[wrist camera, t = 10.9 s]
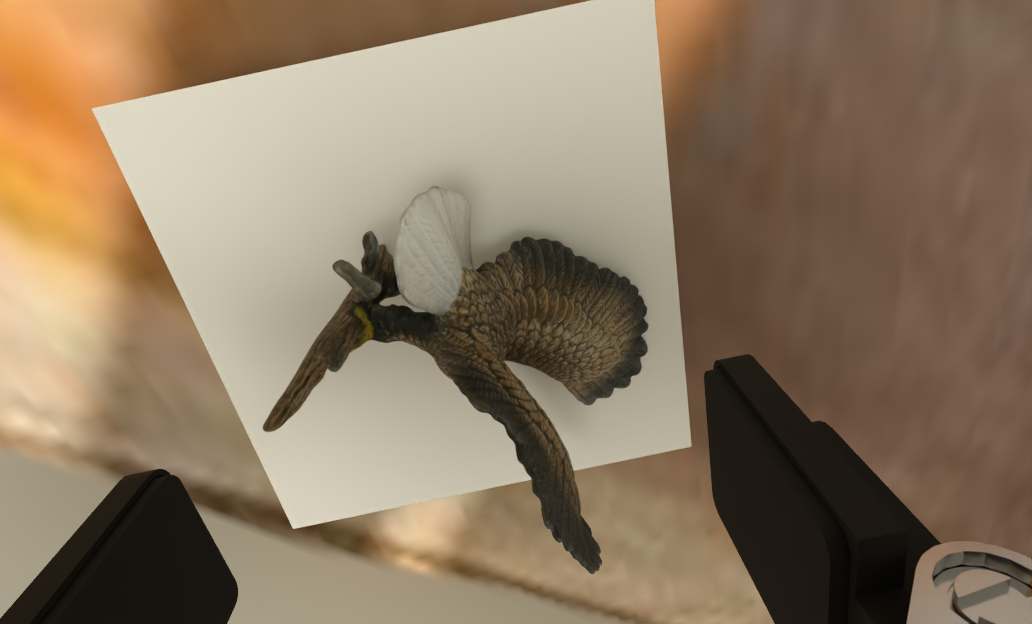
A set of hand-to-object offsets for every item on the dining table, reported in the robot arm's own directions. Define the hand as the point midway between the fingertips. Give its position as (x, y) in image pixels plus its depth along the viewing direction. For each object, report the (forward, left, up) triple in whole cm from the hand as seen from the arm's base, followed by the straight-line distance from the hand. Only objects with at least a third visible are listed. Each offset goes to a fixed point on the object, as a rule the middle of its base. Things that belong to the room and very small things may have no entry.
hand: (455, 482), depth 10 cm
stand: (+1, 0, -13) cm, 13 cm away
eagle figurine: (-1, +1, -8) cm, 8 cm away
